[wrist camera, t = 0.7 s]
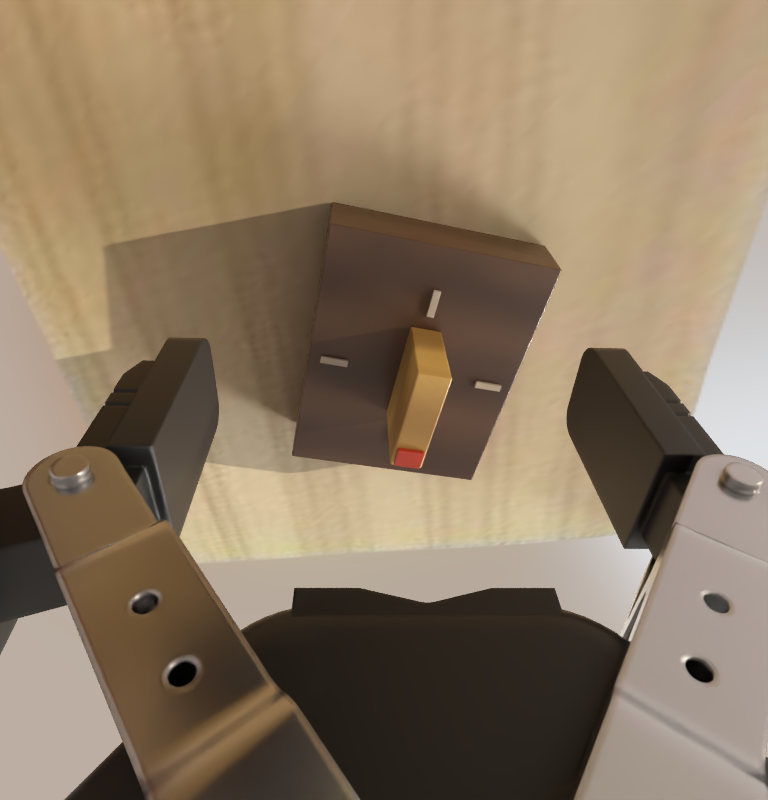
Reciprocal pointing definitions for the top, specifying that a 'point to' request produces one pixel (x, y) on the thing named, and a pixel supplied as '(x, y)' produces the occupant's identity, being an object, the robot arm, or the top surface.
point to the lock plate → (421, 308)
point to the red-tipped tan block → (417, 397)
